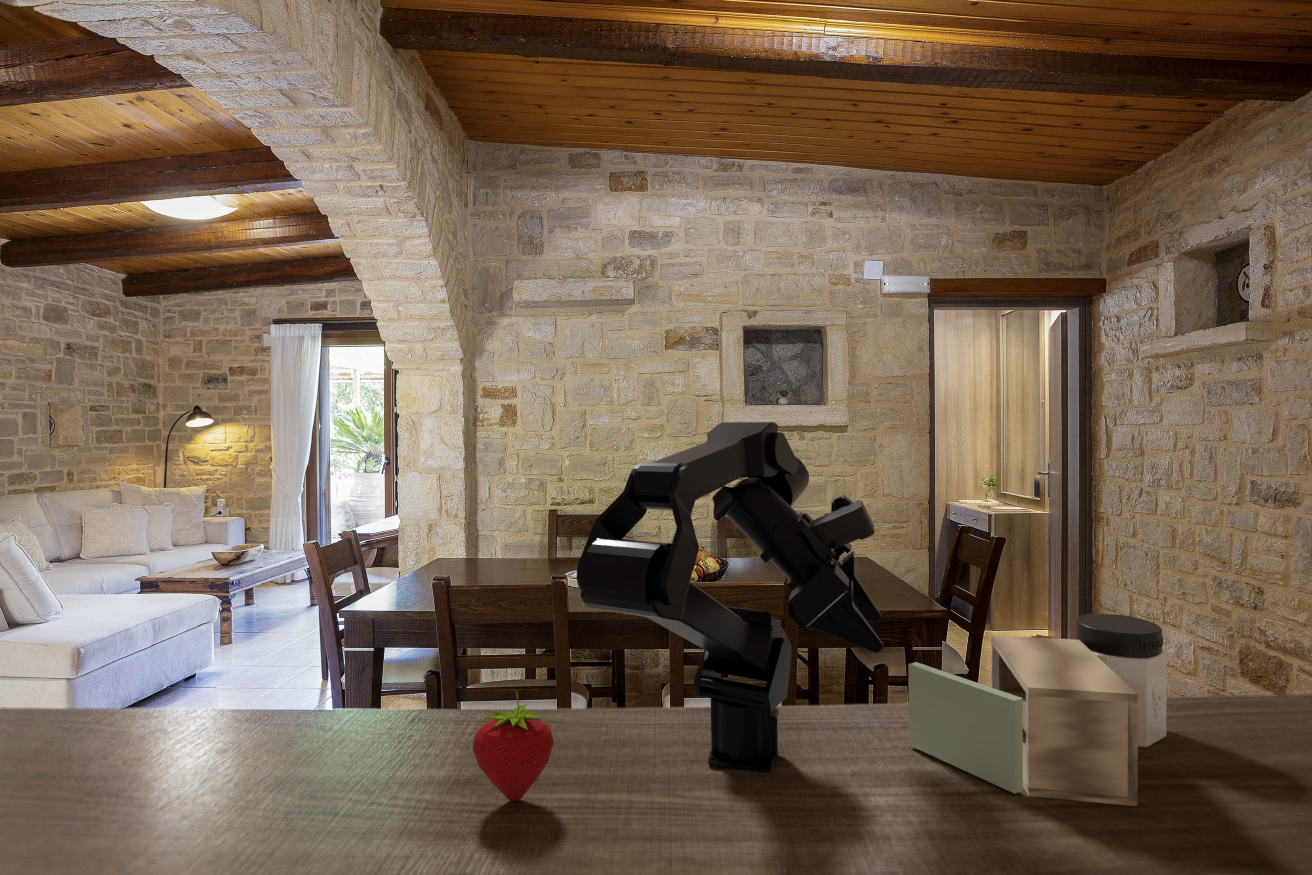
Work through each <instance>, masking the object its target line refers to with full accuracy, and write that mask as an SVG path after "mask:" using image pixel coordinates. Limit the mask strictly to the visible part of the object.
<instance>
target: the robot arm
mask: <svg viewBox="0 0 1312 875" xmlns="http://www.w3.org/2000/svg"><path fill="white" fill-rule="evenodd" d="M706 439H707V440H706V441H705V442H703V443H700V444H697V445H695V446H693V447H689V448H687V449H684V450H682V451H680V452H677V453H673V454H672V455H668V456H666V457H663V458H661V459H658V460H655V461H651V462H649V461H648V462H647V461H645V462H643V463H641V464H640V465H639V464H638V465H637V464H636V465H635V466H634V467H633V468H632V469H631V472H630V474H629V475H628V479H627V480H626V483H625V486H624V489H623V491H622V492H621V493H620V494H619V495H618V497H616V499H615V500H613V501H612V502H611V503H610V504H609V505H608V506H607V508H606V509H604V511H603V512H602V513H601V514H599V516H598V517H597V518H596V519H595V521H594V522H593V525H592V528H591V530H590V532H589V535H588V537H587V540H586V543H585V546H584V548H583V550H582V552H581V556H580V559H579V561H578V564H577V568H576V582H577V587H578V588H579V589H580V591H581V592H580V593H579V596H580V599H581V600H582V602H583V603H584V604H585V605H586V606H587V607H588V608H590V609H595V610H599V611H600V610H601V611H606V612H613V613H620V614H625V615H632V616H639V617H645V618H647V619H648V620H651V621H652V622H654V623H656V624H658V625H660V626H661V627H663V628H665V629H667V630H668V631H671V632H672V633H674V634H676V635H678V636H679V637H681V638H683V639H684V640H687V641H688V642H690V643H692V644H694V645H696V646H697V647H698V648H701V649H702V650H703V653H702V656H701V658H700V661H699V665H698V668H697V671H696V673H695V677H694V679H693V684H694V689H695V694H696V697H698V698H707V699H710V747H711V748H710V753H709V755H708V758H707V764H708V765H709V766H713V767H724V768H725V767H726V768H736V769H737V768H738V769H745V770H757V771H766V772H767V771H769V772H770V771H771V770H773V766H774V760H775V759H776V758H777V757H779V750H780V710H779V709H778V706H779V705H780V704H781V703H782V702H783V701H785V699H787V697H788V692H789V683H790V682H789V681H790V672H791V663H792V645H791V641H790V640H789V639H788V636H787V633H786V631H785V630H784V629H783V627H782V622H783V621H782V620H781V619H776V618H775V617H774V616H773V614H772V613H770V612H768V611H767V610H759V609H752V608H744V607H743V608H742V607H737V606H729V605H728V606H727V605H724V604H722V603H721V602H720V601H718V600H717V599H715V598H714V597H713V596H711V595H710V594H708V593H707V592H705V591H704V590H702V589H701V588H700V587H698V586H697V585H696V584H694V583H693V582H691V579H692V575H693V572H694V569H695V565H696V561H697V558H698V556H699V552H700V545H699V542H698V537H697V534H696V531H695V527H694V523H693V520H692V513H693V509H694V507H695V506H694V505H695V503H696V501H697V500H699V499H701V498H703V497H705V496H707V495H709V494H711V493H713V492H715V491H716V490H718V489H719V490H718V491H717V492H715V494H713V495H712V499H711V500H712V502H713V519H714V520H715V521H717V522H719V521H721V520H722V519H723V518H725V516H726V517H728V519H729V520H730V521H731V523H733V524H734V526H736V527H737V528H738V529H739V530H740V531H741V533H743V534H744V535H745V536H746V537H747V539H749V541H751V543H753V545H755V547H757V549H758V550H759V551H760V554H759V556H758V557H759V558H760V559H761V560H762V561H763V562H764V563H765V564H766V563H768V562H769V561H770V562H771V563H772V564H773V565H774V566H775V567H776V568H777V569H778V571H780V572H781V574H782V575H784V576H785V578H786V579H787V580H788V581H787V583H786V586H788V587H789V589H790V590H791V591H790V592H791V593H790V595H789V599H788V600H787V601H788V602H787V604H788V605H787V606H788V607H787V608H788V609H787V614H788V616H789V617H790V618H791V619H792V620H793V621H794V622H795V623H796V625H798V626H799V627H800V628H801V629H803V628H805V627H806V628H807V629H809V630H811V631H812V630H816V631H819V632H822V633H824V634H826V635H827V634H828V635H830V636H833V637H835V638H838V639H841V640H842V641H845V642H848V643H850V644H852V645H856V646H858V647H860V648H862V649H865V650H867V651H870V652H872V653H874V654H878V653H879V652H881V651H882V650H883V649H884V643H883V641H882V640H881V638H879V636H878V634H877V633H876V632H875V630H874V629H873V628H872V626H871V624H869V622H868V621H870V622H871V623H873V624H874V623H875V624H876V623H879V621H880V620H881V619H882V617H883V616H882V614H881V613H880V611H879V609H878V608H877V606H876V604H875V603H874V601H873V600H872V598H871V596H870V595H869V594H868V592H867V590H866V589H865V587H864V585H863V584H862V581H860V578H858V575H857V574H856V572H855V551H854V550H852V546H853V545H852V544H851V543H853V542H855V541H857V540H865V539H868V538H869V537H870V538H871V537H872V536H873V535H875V525H874V523H873V521H872V519H871V516H870V515H869V512H868V510H867V508H866V506H865V504H864V502H863V500H859V499H857V500H855V502H854V501H853V500H851V499H850V498H848V497H847V496H846V495H844V494H842V495H840V496H838V497H836V498H833V499H831V505H830V506H831V508H830V512H826V513H824V515H822V516H819V517H817V518H815V519H813V518H812V517H811V516H810V515H809V514H808V513H807V512H804V513H803V512H802V511H800V513H799V512H797V511H796V510H795V509H794V508H793V507H792V506H793V505H794V504H795V502H796V501H797V500H798V499H799V498H800V497H801V496H802V494H803V493H804V492H805V490H806V489H807V488H808V486H809V482H810V475H809V471H808V469H807V468H806V465H805V464H804V463H803V462H802V460H800V458H798V457H796V455H795V454H794V451H793V449H792V448H791V445H790V443H789V441H788V440H787V437H786V435H785V434H784V432H782V431H781V432H779V425H778V424H777V423H776V422H775V421H754V422H753V421H748V422H746V421H741V422H739V421H737V422H736V421H734V422H733V421H731V422H729V421H728V422H724V421H723V422H720V423H718V424H717V425H716V426H714V427H713V428H712V429H710V430H709V431H708V432H707V434H706ZM741 478H742V479H741ZM738 479H741V480H740V481H737V482H736V483H735V484H734V485H733V486H726V485H728V484H730V483H732V482H735V481H736V480H738ZM647 510H660V511H661V510H662V511H672V515H673V519H674V522H675V525H676V526H675V527H676V528H675V532H674V535H673V538H672V542H671V543H670V542H657V541H647V540H646V541H645V540H635V539H634V540H633V539H624V537H626V536H627V535H628V534H629V532H631V530H632V529H633V528H634V527H635V526H636V525H638V523H639V521H641V520H642V519H643V518H644V517H645V515H646V514H647ZM844 553H846V554H847V555H846V556H845V557H843V556H842V555H843V554H844ZM722 674H723V675H727V676H733V677H738V678H739V677H740V678H745V679H748V680H749V679H750V680H754V681H759V682H760V681H761V682H766V685H761V684H755V683H749V682H744V681H740V680H733V679H728V678H727V679H726V678H721V677H722Z"/></svg>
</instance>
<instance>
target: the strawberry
mask: <svg viewBox="0 0 1312 875" xmlns="http://www.w3.org/2000/svg"><path fill="white" fill-rule="evenodd" d="M515 696H516V703H517V706H516V707H515V708H514V713H513V711H495V710H493V711H492V714H493V715H489V716H485V717H484V719H485V720H489V721H488V722H487V721H486V723H483V725H482V726H481V727H480V728H478V730H477V731H476V732H475V734H474V739H473V743H472V750H473V754H474V757H475V759H476V762H477V765H478V767H479V769H480V770H481V771H482V773H483V774H484V775H485V776H486V777H487V779H488V780H489V782H491V784H493V785H494V786H495V787H496V788H497V789H498V790H499V791H500V792H501V793H502V794H503V795H504V797H505V798H506V799H507V800H508V801H511V802H517V801H519V800H521V799H522V798H524V796H525V795H526V794H527V791H529V789H530V788H531V787H532V786H533V784H534V783H536V782H537V780H538V778H539V776H540V775H541V774H542V772H543V771H544V770H545V767H546V766H547V765H548V763H549V761H550V758H551V753H552V751H553V747H554V737H553V734H552V730H551V728H550V726H548V725H547V723H546V722H544V721H543V720H542V717H540V716H536V715H537V714H539V713H540V711H535V710H530V709H529V710H528V709H525V708H526V706H527V704H528V703H524V704H522V705H520V702H519V695H518V691H517V690H516V691H515Z"/></svg>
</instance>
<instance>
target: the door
mask: <svg viewBox="0 0 1312 875" xmlns="http://www.w3.org/2000/svg"><path fill="white" fill-rule="evenodd" d="M907 665H908V667H907V668H908V673H907V677H908V746H910V747H913V748H914V749H916V750H918V751H921V752H923V753H925V754H927V755H930V756H932V757H934V758H936V759H938V760H941V761H943V762H945V763H947V764H949V765H952V766H954V767H956V768H958V769H960V770H962V771H964V772H967V773H969V774H971V775H973V776H975V777H977V778H980V779H982V780H985V781H986V782H989V783H991V784H993V785H995V786H997V787H999V788H1001V789H1003V790H1006V791H1008V792H1010V793H1013V794H1017V793H1018V794H1019V793H1020V792H1022V791H1024V787H1023V698H1021V697H1018V696H1015V695H1012V694H1009V693H1006V692H1003V691H1000V690H997V689H994V688H991V686H989V685H985V684H982V683H979V682H976V681H973V680H970V679H967V678H964V677H961V676H958V675H956V674H953V673H950V672H946V671H943V670H940V669H938V668H935V667H932V666H928V665H926V664H923V663H920V662H917V661H915V662H912V663H908V664H907Z"/></svg>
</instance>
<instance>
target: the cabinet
mask: <svg viewBox="0 0 1312 875" xmlns="http://www.w3.org/2000/svg"><path fill="white" fill-rule="evenodd" d="M990 638H991V639H990V649H991V650H990V651H991V652H990V654H991V655H990V666H991V667H990V669H991V670H990V673H991V674H990V676H991V678H990V680H991V682H990V685H991V686H990V687H991V688H994V689H997V690H1000V691H1003V692H1006V693H1009V694H1012V695H1015V696H1018V697H1021V698H1023V789H1024V790H1025V793H1026V794H1027V796H1028V797H1036V798H1043V799H1044V798H1047V799H1056V800H1057V799H1058V800H1066V801H1067V800H1068V801H1077V802H1078V801H1079V802H1088V803H1098V804H1108V805H1109V804H1111V805H1119V806H1130V807H1132V806H1133V807H1138V802H1139V801H1138V788H1139V787H1138V786H1139V785H1138V784H1139V783H1138V781H1139V780H1138V779H1139V778H1138V777H1139V776H1138V775H1139V773H1138V772H1139V771H1138V769H1139V768H1138V765H1139V762H1138V759H1139V758H1138V756H1139V755H1138V754H1139V751H1138V750H1139V748H1138V747H1139V746H1138V694H1137V693H1136V692H1135V691H1134V690H1133V689H1132V688H1131V687H1130V686H1128V685H1127V684H1126V683H1125V682H1124V681H1123V680H1122V679H1121V678H1120V677H1119V676H1118V675H1117V674H1115V673H1114V672H1113V671H1112V670H1111V669H1110V668H1109V667H1108V666H1107V665H1106V664H1105V663H1104V662H1102V661H1101V660H1100V659H1099V658H1098V657H1097V656H1096V655H1095V654H1094V653H1093V652H1092V651H1091V650H1089V649H1088V648H1087V647H1086V646H1085V645H1084V644H1083V643H1082V642H1081V641H1080V640H1076V638H1075V639H1072V638H1071V639H1069V638H1055V637H1054V638H1050V637H1031V636H1027V637H1026V636H1010V635H991V636H990Z"/></svg>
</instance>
